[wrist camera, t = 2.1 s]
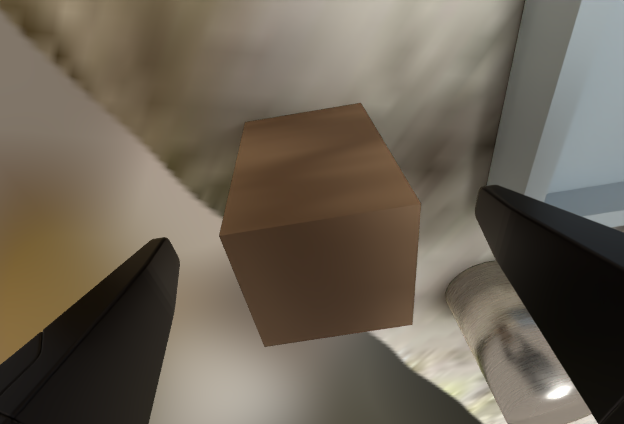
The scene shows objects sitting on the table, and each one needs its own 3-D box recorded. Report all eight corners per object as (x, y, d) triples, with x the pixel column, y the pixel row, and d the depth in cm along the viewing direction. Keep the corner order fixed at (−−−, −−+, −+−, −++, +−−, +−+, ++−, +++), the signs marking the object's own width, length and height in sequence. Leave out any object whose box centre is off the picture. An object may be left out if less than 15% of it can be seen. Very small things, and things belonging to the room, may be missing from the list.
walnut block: (360, 102, 11) (421, 203, 6) (365, 198, 14) (412, 324, 9) (245, 122, 11) (219, 235, 7) (270, 213, 14) (264, 346, 9)
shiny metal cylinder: (529, 255, 16) (633, 374, 12) (511, 305, 19) (591, 421, 14) (449, 267, 17) (519, 391, 12) (441, 316, 19) (497, 435, 14)
